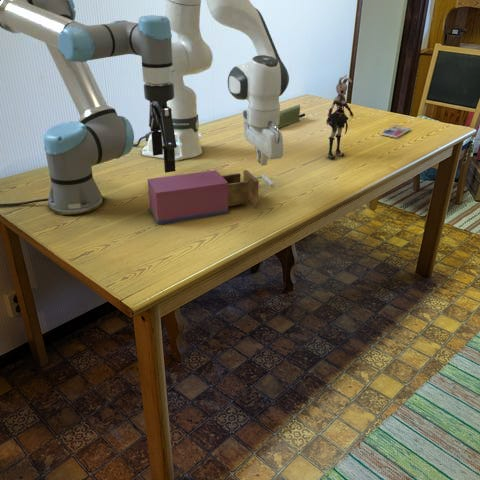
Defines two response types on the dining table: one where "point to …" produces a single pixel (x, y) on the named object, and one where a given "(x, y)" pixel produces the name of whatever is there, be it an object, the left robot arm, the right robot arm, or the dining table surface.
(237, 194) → the drawer
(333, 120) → the figurine
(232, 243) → the dining table surface
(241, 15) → the right robot arm
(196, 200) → the magenta elongated box
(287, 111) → the handheld radio
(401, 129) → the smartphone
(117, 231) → the dining table surface
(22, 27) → the left robot arm
